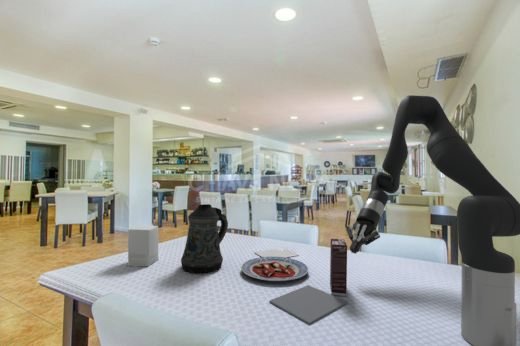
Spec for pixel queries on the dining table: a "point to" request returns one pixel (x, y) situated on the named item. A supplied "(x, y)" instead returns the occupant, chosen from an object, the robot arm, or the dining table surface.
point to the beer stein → (204, 240)
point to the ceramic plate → (274, 268)
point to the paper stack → (275, 253)
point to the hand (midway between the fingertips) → (353, 251)
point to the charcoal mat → (308, 303)
